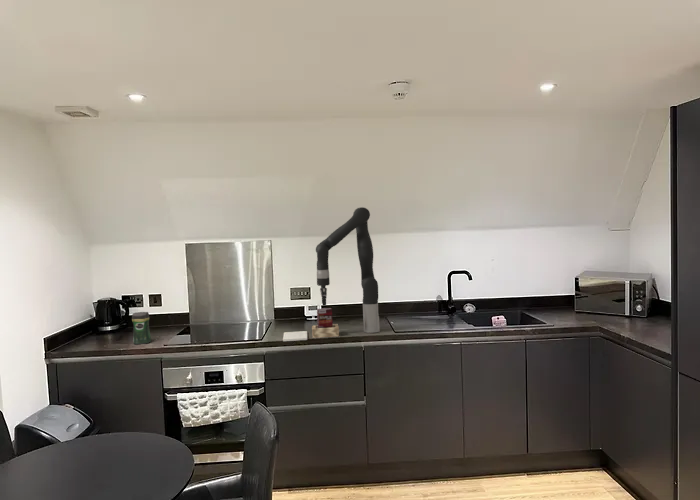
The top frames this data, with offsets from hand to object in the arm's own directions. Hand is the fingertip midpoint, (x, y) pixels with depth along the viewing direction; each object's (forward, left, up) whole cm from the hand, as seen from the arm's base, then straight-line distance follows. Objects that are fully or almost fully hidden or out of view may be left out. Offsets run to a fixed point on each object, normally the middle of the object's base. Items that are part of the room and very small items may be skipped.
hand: (324, 304), depth 315 cm
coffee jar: (+109, -9, -19) cm, 111 cm away
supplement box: (0, 0, -19) cm, 19 cm away
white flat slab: (+18, 0, -19) cm, 26 cm away
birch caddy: (0, 0, -19) cm, 19 cm away
